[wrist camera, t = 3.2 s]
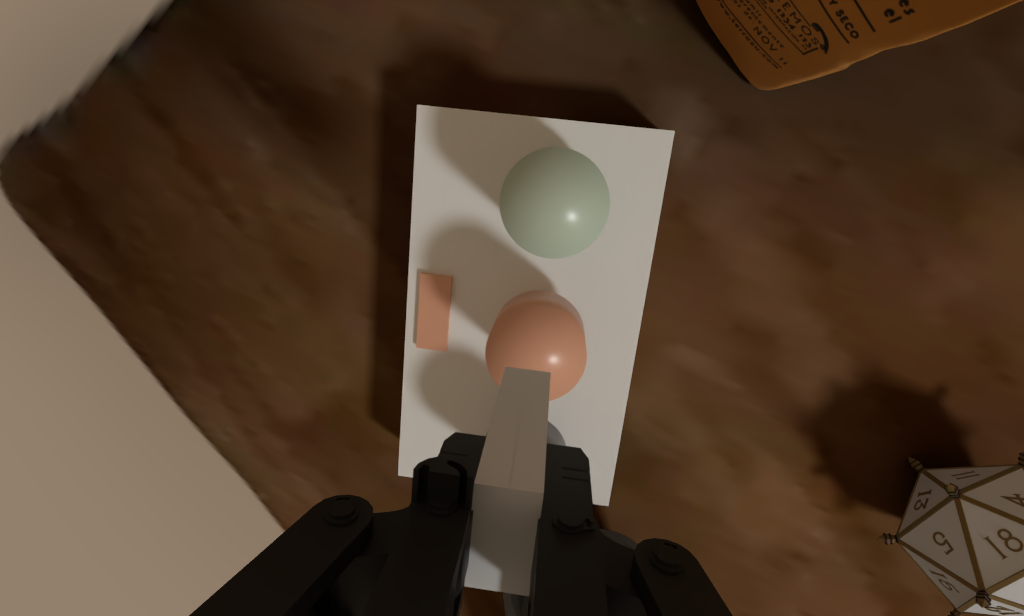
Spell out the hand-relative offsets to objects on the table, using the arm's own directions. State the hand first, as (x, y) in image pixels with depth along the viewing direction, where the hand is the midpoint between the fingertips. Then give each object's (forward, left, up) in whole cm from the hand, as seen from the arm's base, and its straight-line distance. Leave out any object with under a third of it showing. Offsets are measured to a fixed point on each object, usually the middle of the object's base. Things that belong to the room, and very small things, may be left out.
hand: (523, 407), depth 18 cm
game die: (-8, -24, -13) cm, 29 cm away
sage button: (+6, 0, -9) cm, 11 cm away
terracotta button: (0, 0, -9) cm, 9 cm away
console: (0, +1, -13) cm, 13 cm away
